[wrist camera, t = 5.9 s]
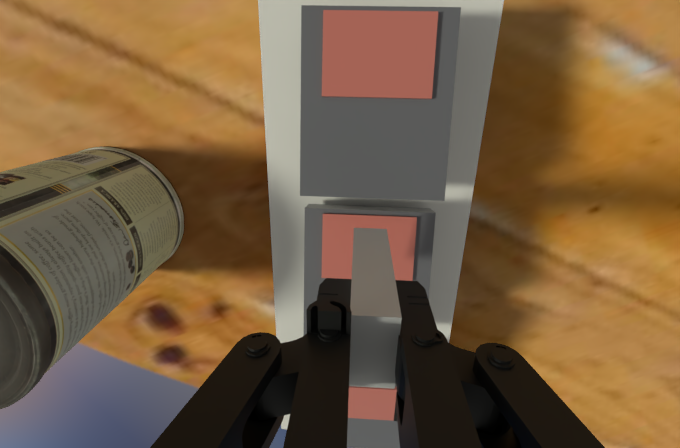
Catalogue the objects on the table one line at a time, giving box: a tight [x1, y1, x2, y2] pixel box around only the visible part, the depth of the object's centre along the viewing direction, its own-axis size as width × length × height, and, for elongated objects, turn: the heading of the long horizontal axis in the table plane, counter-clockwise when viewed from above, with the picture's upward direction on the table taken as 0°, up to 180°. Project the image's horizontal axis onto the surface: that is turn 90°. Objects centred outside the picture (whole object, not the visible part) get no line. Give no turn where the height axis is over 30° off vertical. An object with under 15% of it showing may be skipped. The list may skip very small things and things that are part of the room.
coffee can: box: [0, 147, 184, 409], centre depth 22 cm, size 10×10×14 cm
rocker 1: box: [300, 5, 461, 201], centre depth 17 cm, size 8×7×2 cm
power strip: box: [258, 0, 504, 429], centre depth 24 cm, size 35×12×6 cm, turn 179°
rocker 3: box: [347, 380, 400, 448], centre depth 25 cm, size 8×7×2 cm
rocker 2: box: [303, 204, 436, 336], centre depth 21 cm, size 8×7×2 cm
